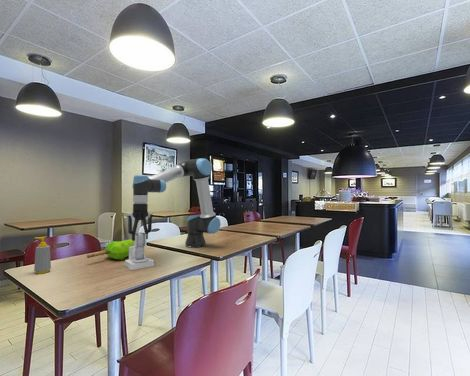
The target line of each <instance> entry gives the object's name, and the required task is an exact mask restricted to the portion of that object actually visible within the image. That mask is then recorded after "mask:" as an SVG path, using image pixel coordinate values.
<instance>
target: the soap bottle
mask: <svg viewBox="0 0 470 376" xmlns="http://www.w3.org/2000/svg"><path fill="white" fill-rule="evenodd" d="M47 237H48V236H40V237H39V236H38V237H34V238H33V239H36V240H37V239H38V240H41V241H40V243H39V244H38V246H36V247H35V251H34V252H35V255H34V268H33V269H34V270H33V271H34V272H35V274H37V275H42V274H46V273H49V272H50V270H51V269H52V262H51V246H50V245H48V244H47V242H46V241H45V240H46V239H45V238H47Z"/></svg>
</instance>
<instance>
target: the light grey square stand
mask: <svg viewBox="0 0 470 376" xmlns="http://www.w3.org/2000/svg"><path fill="white" fill-rule="evenodd" d="M154 262H155V260H153V259H152V258H149V256H144V259H143V260H135V247H134V246H132V247H129V256H128V259H124V266H125V267H126V268H127V269H129V270H130V271H134V270H141V269H145V268H151V267H154V266H155V263H154Z"/></svg>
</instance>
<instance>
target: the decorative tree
mask: <svg viewBox="0 0 470 376" xmlns="http://www.w3.org/2000/svg"><path fill="white" fill-rule="evenodd" d="M132 246H134V241H132V238H130V239H126V240H121V241H118V240H117V241H116V240H115V241H113V240H112V241H110V242H109V243H108V244H106V246H105V248H104V251H100V252H97V253H91V254H87V256H86V257H87V258H88V259H90V258H94V257H99V256H103V255H106V256H108V257H109V258H110V259H114V260H119V261H122V260H125V259H126V258H127V257H129V247H132Z"/></svg>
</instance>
